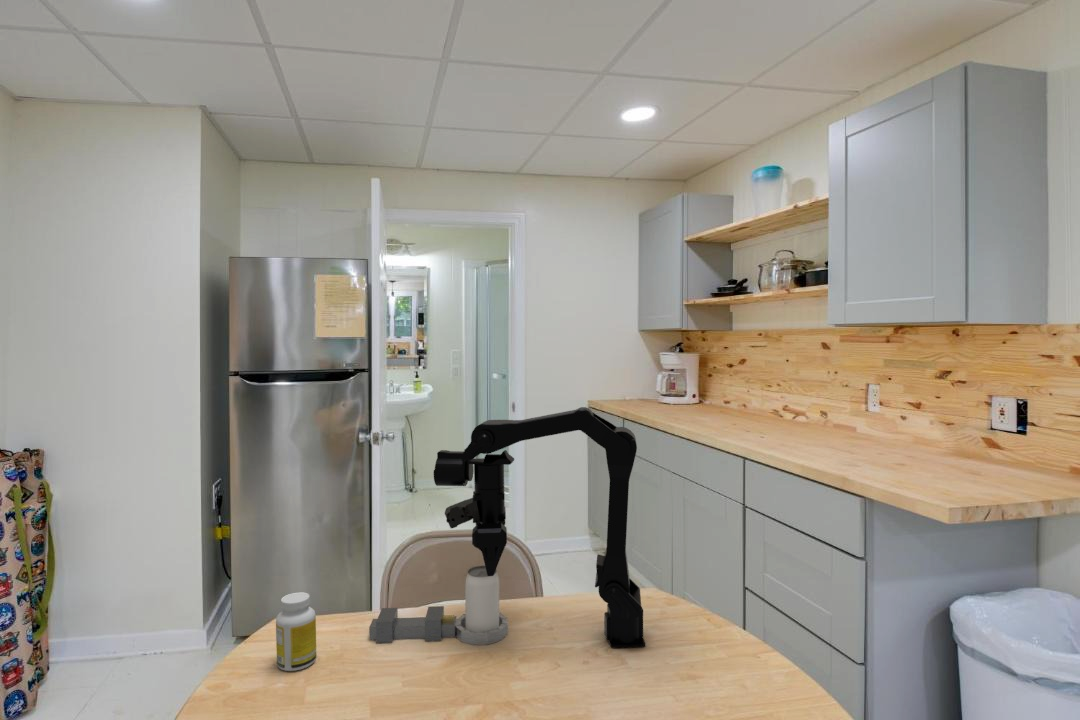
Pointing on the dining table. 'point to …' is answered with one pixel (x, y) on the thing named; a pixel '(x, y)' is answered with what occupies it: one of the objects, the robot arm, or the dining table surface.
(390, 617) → the shaft seat
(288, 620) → the pill bottle
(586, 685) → the dining table surface
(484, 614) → the can
